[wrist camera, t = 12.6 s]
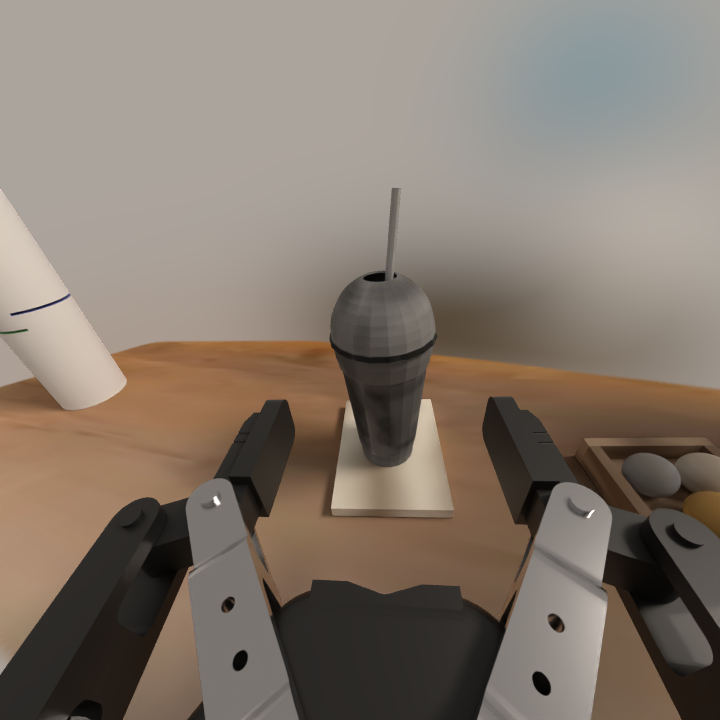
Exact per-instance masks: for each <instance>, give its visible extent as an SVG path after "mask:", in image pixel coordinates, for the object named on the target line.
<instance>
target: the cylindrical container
mask: <svg viewBox="0 0 720 720" xmlns="http://www.w3.org/2000/svg"><path fill="white" fill-rule="evenodd" d="M0 337H1V338H2V339H3V340H4V341H5V342H6V343H7V344H8V346H9V347H10V348H11V349H12V350H13V352H14V353H15V354H16V355H17V356H18V357H19V358H20V360H21V361H22V362H23V363H24V364H25V365H26V366H27V368H28V369H29V370H30V371H31V372H32V373H33V374H34V376H35V377H36V378H37V379H38V380H39V381H40V382H41V384H42V385H43V386H44V387H45V388H46V389H47V391H48V392H49V393H50V394H51V395H52V396H53V397H54V399H55V400H56V401H57V402H58V403H59V404H60V405H61V407H62V408H63V409H65V410H80V409H85V408H88V407H91V406H94V405H97V404H99V403H102V402H104V401H106V400H108V399H109V398H111V397H113V396H114V395H116V394H117V393H119V392H120V391H121V390H122V389H123V388H124V387H125V385H126V383H127V380H126V378H125V376H124V375H123V373H122V372H121V370H120V369H119V367H118V366H117V364H116V363H115V361H114V360H113V358H112V357H111V355H110V353H109V352H108V351H107V349H106V348H105V346H104V345H103V343H102V341H101V340H100V338H99V337H98V335H97V334H96V332H95V331H94V329H93V328H92V327H91V325H90V323H89V322H88V320H87V319H86V317H85V316H84V314H83V313H82V311H81V309H80V308H79V306H78V305H77V303H76V302H75V300H74V299H73V297H72V296H71V294H69V291H68V290H67V288H66V287H65V285H64V284H63V282H62V281H61V279H60V278H59V276H58V275H57V273H56V272H55V270H54V269H53V267H52V266H51V264H50V263H49V261H48V259H47V258H46V257H45V255H44V254H43V252H42V250H41V249H40V247H39V246H38V244H37V243H36V241H35V240H34V238H33V237H32V235H31V234H30V232H29V231H28V229H27V228H26V226H25V225H24V223H23V222H22V220H21V219H20V217H19V215H18V214H17V213H16V211H15V209H14V208H13V206H12V205H11V203H10V202H9V200H8V199H7V197H6V196H5V194H4V193H3V191H2V190H1V188H0Z"/></svg>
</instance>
